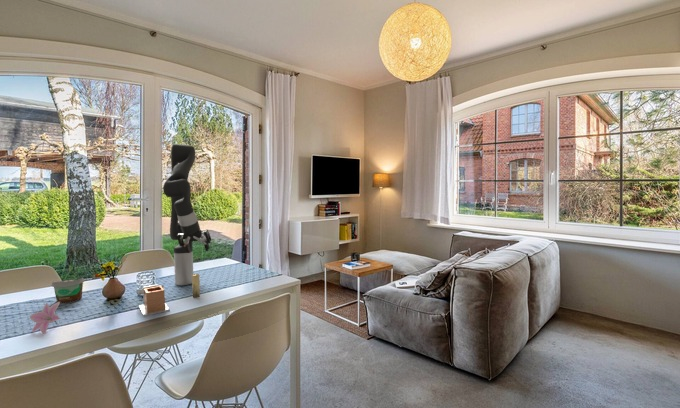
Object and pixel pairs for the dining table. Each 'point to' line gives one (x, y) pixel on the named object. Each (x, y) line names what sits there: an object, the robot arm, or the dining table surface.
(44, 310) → the lily
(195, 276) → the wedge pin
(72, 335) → the dining table surface
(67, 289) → the food container
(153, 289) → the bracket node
